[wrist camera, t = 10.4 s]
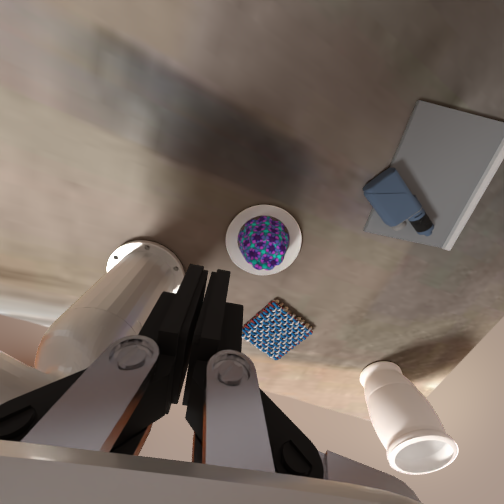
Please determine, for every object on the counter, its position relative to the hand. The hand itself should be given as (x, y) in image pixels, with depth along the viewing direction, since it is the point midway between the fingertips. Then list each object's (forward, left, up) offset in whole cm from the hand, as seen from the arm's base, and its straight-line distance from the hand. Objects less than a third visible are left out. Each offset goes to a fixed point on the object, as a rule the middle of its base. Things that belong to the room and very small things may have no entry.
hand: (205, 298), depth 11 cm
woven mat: (-25, -12, -30) cm, 41 cm away
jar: (-32, -36, -29) cm, 56 cm away
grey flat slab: (+6, -27, -29) cm, 40 cm away
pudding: (-8, -6, -30) cm, 31 cm away
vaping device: (+5, -19, -28) cm, 34 cm away
